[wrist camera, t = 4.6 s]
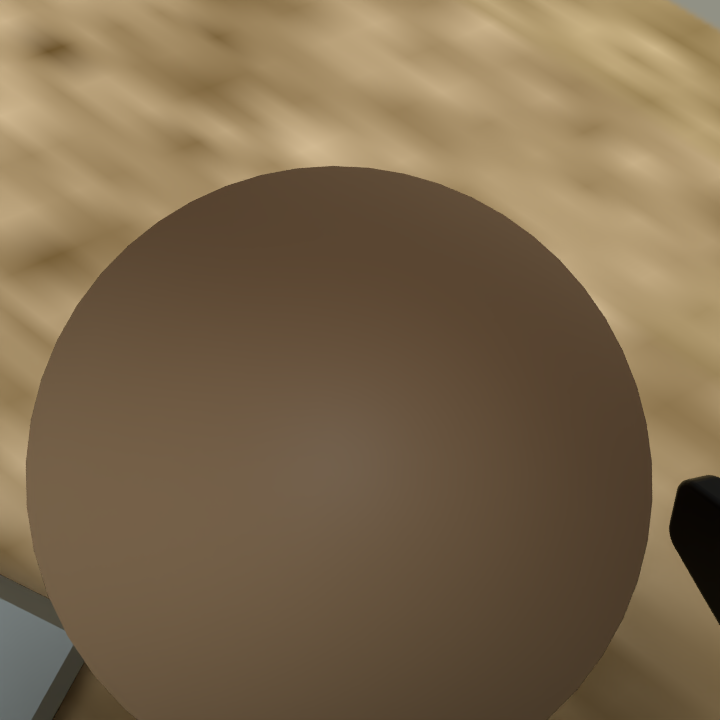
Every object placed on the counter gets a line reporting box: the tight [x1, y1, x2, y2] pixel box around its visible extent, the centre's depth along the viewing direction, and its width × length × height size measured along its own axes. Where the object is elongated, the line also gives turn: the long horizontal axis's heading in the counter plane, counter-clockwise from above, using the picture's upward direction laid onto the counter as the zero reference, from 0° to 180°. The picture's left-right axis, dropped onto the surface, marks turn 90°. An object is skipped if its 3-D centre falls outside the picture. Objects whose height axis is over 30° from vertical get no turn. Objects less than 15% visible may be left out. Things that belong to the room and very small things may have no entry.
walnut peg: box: [26, 166, 652, 720], centre depth 11 cm, size 5×5×12 cm
